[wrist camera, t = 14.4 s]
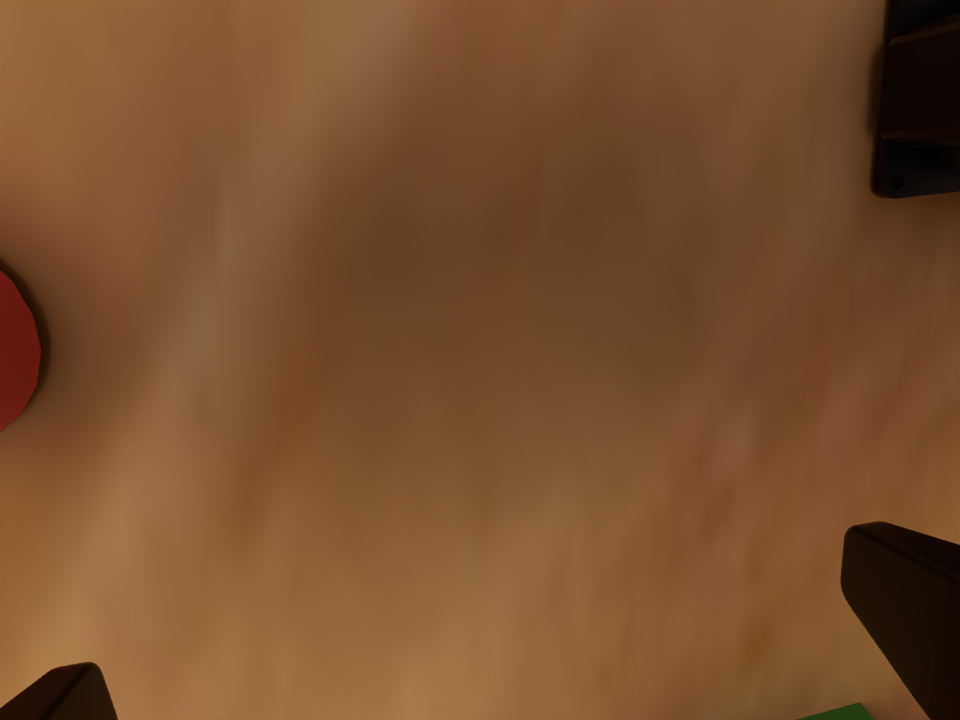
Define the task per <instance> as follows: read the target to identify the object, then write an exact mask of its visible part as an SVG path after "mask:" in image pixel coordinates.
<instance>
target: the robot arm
mask: <svg viewBox="0 0 960 720" xmlns="http://www.w3.org/2000/svg"><path fill="white" fill-rule="evenodd" d="M893 176H894V177H895V183H894V186H893V187H892V188H891V187H890V181H891V179H892V177H893ZM874 190H875V192H876V194H877V195H878V196H880V197H882V198H895V199H896V198H905V197H914V196H922V195H931V194H940V193H948V192H957V191H960V0H890V7H889V19H888V30H887V41H886V52H885V63H884V74H883V85H882V96H881V107H880V118H879V129H878V140H877V151H876V162H875V173H874ZM840 582H841V588H842V592H843V595H844V597H845V599H846V601H847V602H848V604H849V606H850V607H851V608H852V610H853V611H854V613H855V614H856V616H857V617H858V618H859V620H860V621H861V623H862V624H863V626H864V627H865V628H866V630H867V631H868V633H869V634H870V636H871V637H872V638H873V640H874V641H875V643H876V644H877V646H878V647H879V648H880V650H881V651H882V653H883V654H884V656H885V657H886V658H887V660H888V661H889V663H890V664H891V666H892V667H893V668H894V670H895V671H896V673H897V674H898V676H899V677H900V678H901V680H902V681H903V683H904V684H905V686H906V687H907V688H908V690H909V691H910V693H911V694H912V696H913V697H914V698H915V700H916V701H917V702H918V704H919V705H920V706H921V708H922V709H923V710H924V712H925V713H926V714H927V716H928V717H929V718H930V720H960V545H958V544H955V543H952V542H949V541H945V540H942V539H939V538H936V537H932V536H929V535H926V534H923V533H919V532H916V531H913V530H910V529H906V528H903V527H900V526H897V525H893V524H890V523H887V522H881V521H876V522H870V523H865V524H859V525H854V526H852V527H850V528H848V530H847V531H846V533H845V536H844V545H843V556H842V567H841V579H840ZM0 720H118V718H117V714H116V711H115V708H114V706H113V703H112V700H111V697H110V694H109V691H108V688H107V685H106V682H105V680H104V677H103V674H102V671H101V669H100V668H99V666H98V665H97V664H95V663H92V662H84V663H78V664H72V665H67V666H61V667H57V668H54V669H52V670H50V671H49V672H47V673H46V674H45V675H43V676H42V677H41V678H39V679H38V680H37V681H35V682H34V683H33V684H32V685H30V686H29V687H28V688H26V689H25V690H24V691H22V692H21V693H20V694H18V695H17V696H16V697H14V698H13V699H12V700H10V701H9V702H8V703H7V704H5V705H4V706H3V707H1V708H0Z"/></svg>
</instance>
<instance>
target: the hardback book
mask: <svg viewBox="0 0 960 720" xmlns="http://www.w3.org/2000/svg"><path fill="white" fill-rule="evenodd" d="M797 720H875V719H874V718H873V717H872V716H871V715H870V714H869V713H868V711H867V710H866V709H865V708H864V707H863V706H862V705H861V704H860V703H856V704H853V705H849V706H845V707H842V708H838V709H834V710H830V711H827V712H823V713H819V714H816V715H812V716H808V717H805V718H801V719H797Z"/></svg>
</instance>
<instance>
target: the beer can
mask: <svg viewBox="0 0 960 720" xmlns="http://www.w3.org/2000/svg"><path fill="white" fill-rule="evenodd" d="M40 356H41V347H40V343H39V338H38V334H37V330H36V325H35V321H34V317H33V314H32V313H31V311H30V309H29V308H28V306H27V304H26V303H25V301H24V299H23V298H22V296H21V294H20V293H19V291H18V289H17V288H16V286H15V284H14V283H13V282H12V281H11V280H10V279H9V278H8V277H7V276H6V275H5V274H4V273H3V272H2V271H1V270H0V431H1V430H3V429H4V428H5V427H6V426H8V425H9V424H10V423H11V422H13V421H14V420H15V419H16V418H17V417H19V416H20V415H21V413H22V411H23V409H24V408H25V406H26V404H27V402H28V401H29V399H30V397H31V395H32V394H33V392H34V390H35V388H36V386H37V379H38V371H39V364H40Z"/></svg>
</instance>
